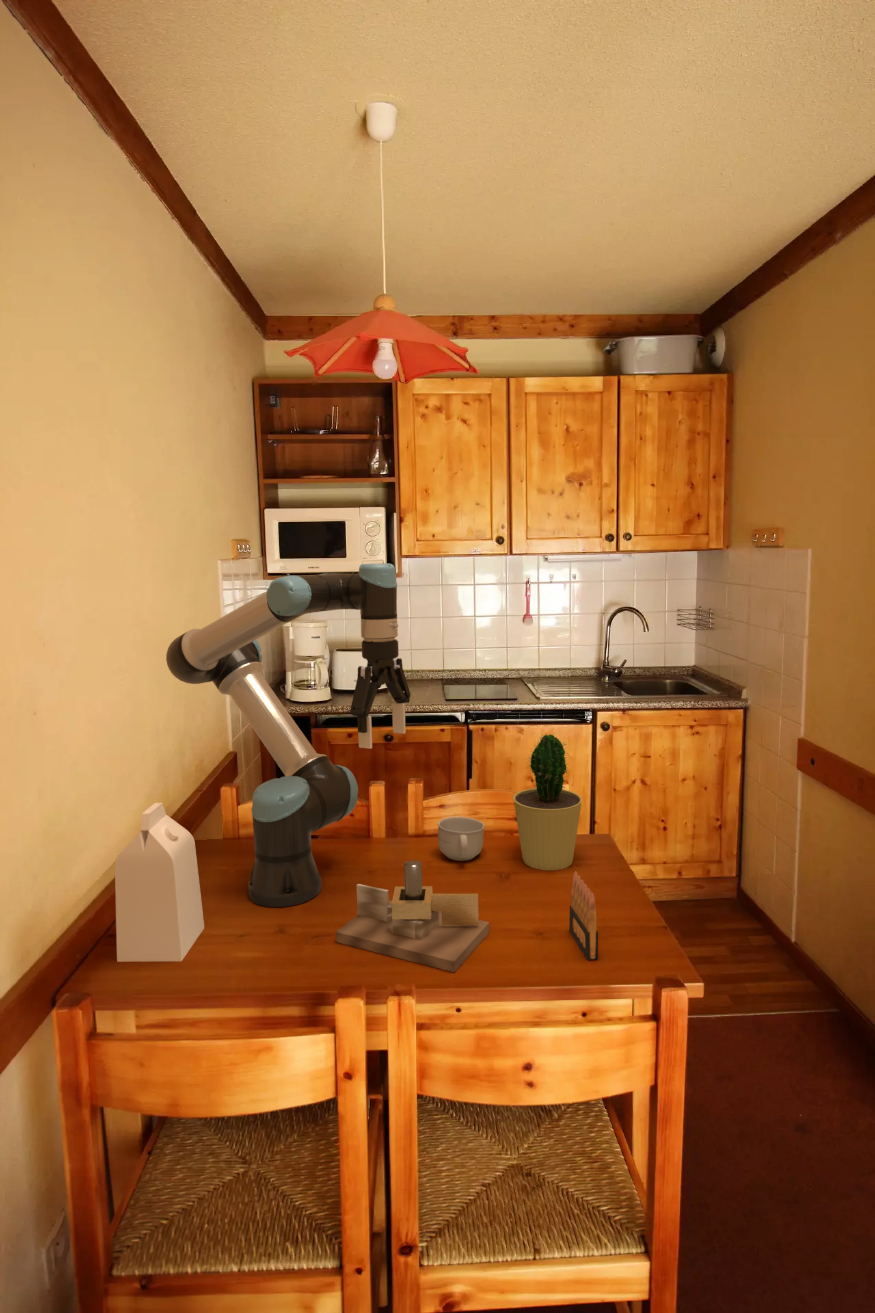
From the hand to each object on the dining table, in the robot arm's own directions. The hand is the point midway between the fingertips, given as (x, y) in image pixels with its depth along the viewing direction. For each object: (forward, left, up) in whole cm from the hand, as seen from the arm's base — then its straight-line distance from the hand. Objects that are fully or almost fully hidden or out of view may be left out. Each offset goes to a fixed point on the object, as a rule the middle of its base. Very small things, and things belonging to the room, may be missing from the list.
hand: (383, 740), depth 158 cm
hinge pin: (+16, -17, -30) cm, 38 cm away
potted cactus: (+27, +26, -32) cm, 49 cm away
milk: (-25, -39, -32) cm, 56 cm away
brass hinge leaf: (+20, -16, -29) cm, 39 cm away
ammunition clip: (+45, -7, -32) cm, 56 cm away
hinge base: (+16, -18, -32) cm, 40 cm away
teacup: (+8, +19, -32) cm, 38 cm away
